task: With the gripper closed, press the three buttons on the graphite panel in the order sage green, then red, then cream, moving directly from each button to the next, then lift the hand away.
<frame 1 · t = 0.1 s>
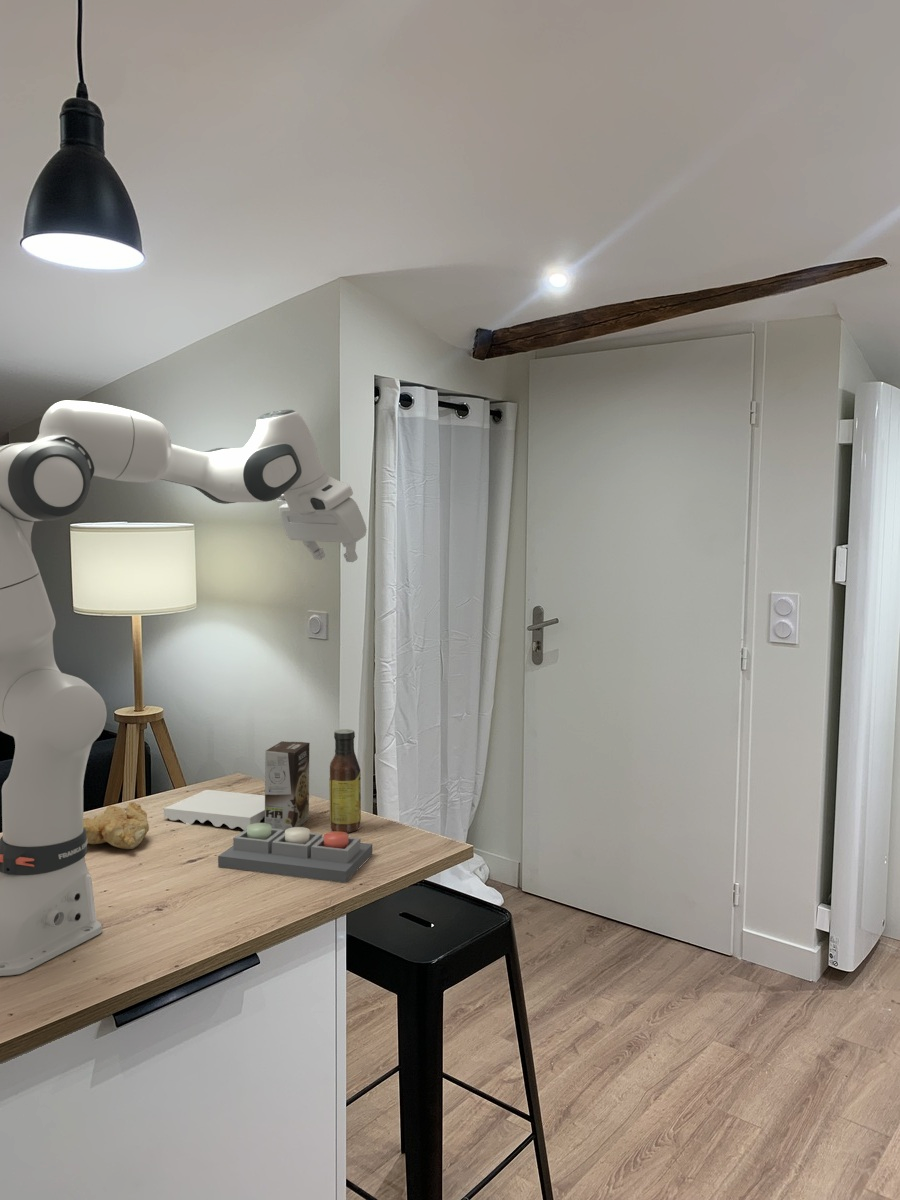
hand: (336, 559, 174), 54 cm above the worktop, tool tilted 30°, fingers open, 8 cm apart
white scalloped slab: (226, 819, 191), on the worktop
cream button: (297, 836, 166), point 4 cm above the worktop, slide at 0.0 cm
red button: (336, 841, 165), point 4 cm above the worktop, slide at 0.0 cm
green button: (259, 832, 168), point 4 cm above the worktop, slide at 0.0 cm
button panel: (297, 860, 167), on the worktop
coffee box: (287, 825, 187), on the worktop
ginger root: (115, 845, 174), on the worktop
sauce bottle: (344, 829, 185), on the worktop
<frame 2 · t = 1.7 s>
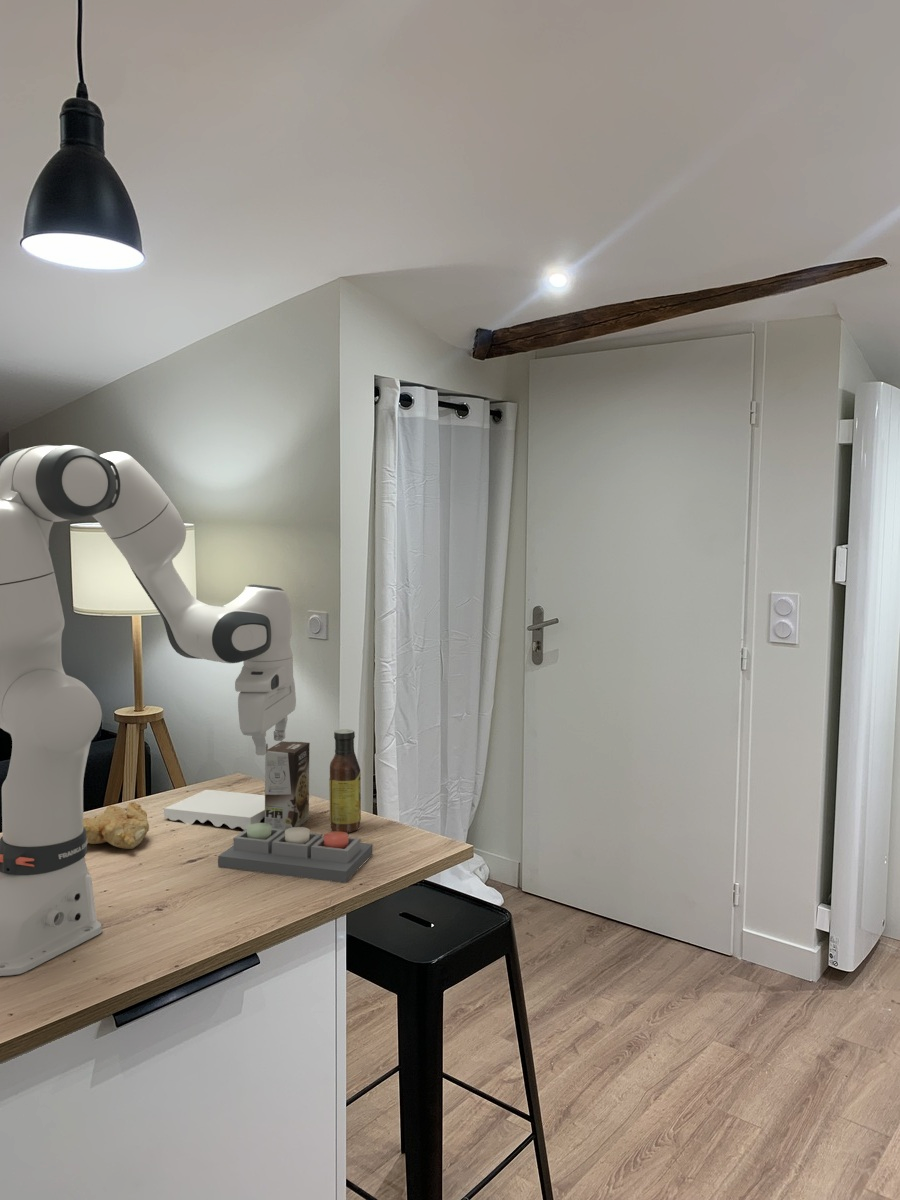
hand: (271, 747, 169), 20 cm above the worktop, tool pointing down, fingers open, 8 cm apart
nothing on the worktop moved.
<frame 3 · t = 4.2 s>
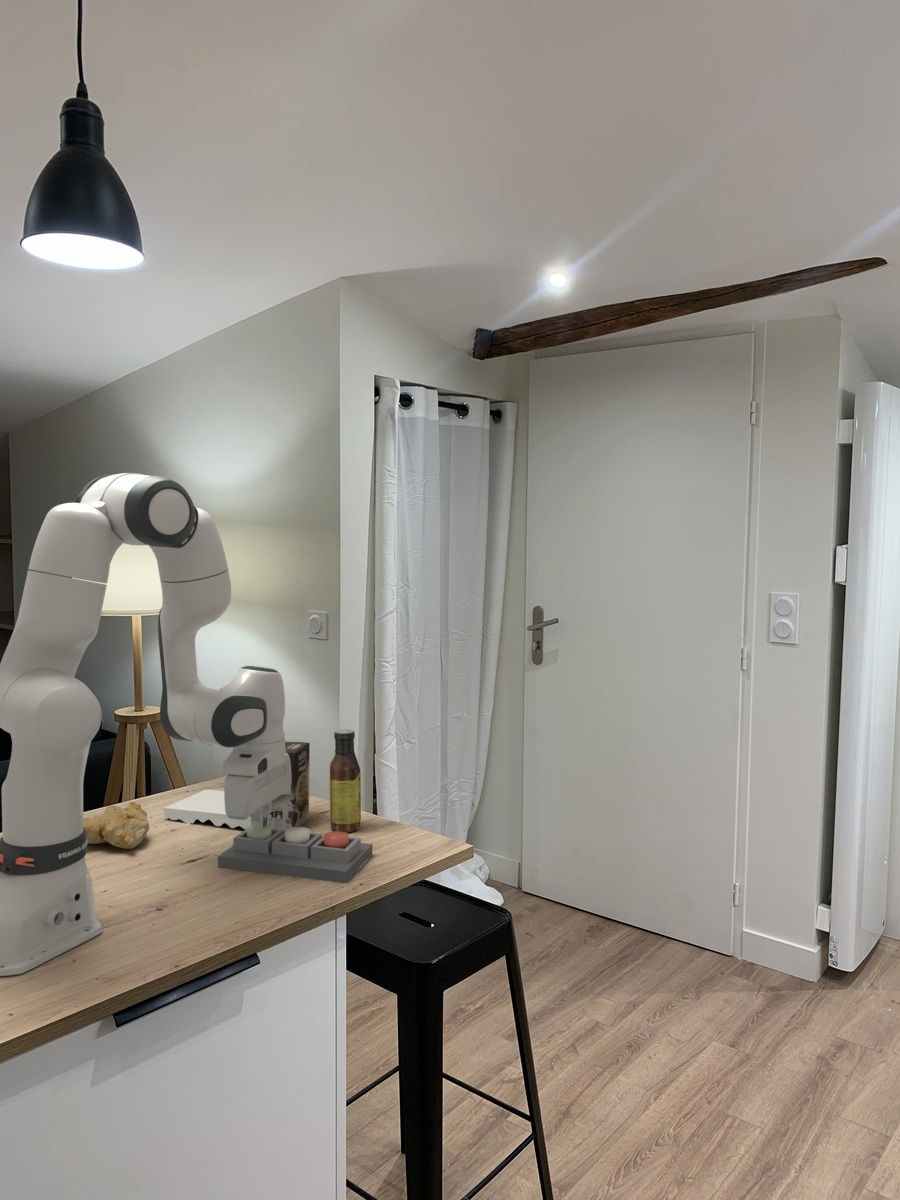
hand: (260, 828, 168), 5 cm above the worktop, tool pointing down, fingers closed, pressing on green button
green button: (259, 834, 168), point 4 cm above the worktop, slide at 0.3 cm, touching gripper
everything else where it was.
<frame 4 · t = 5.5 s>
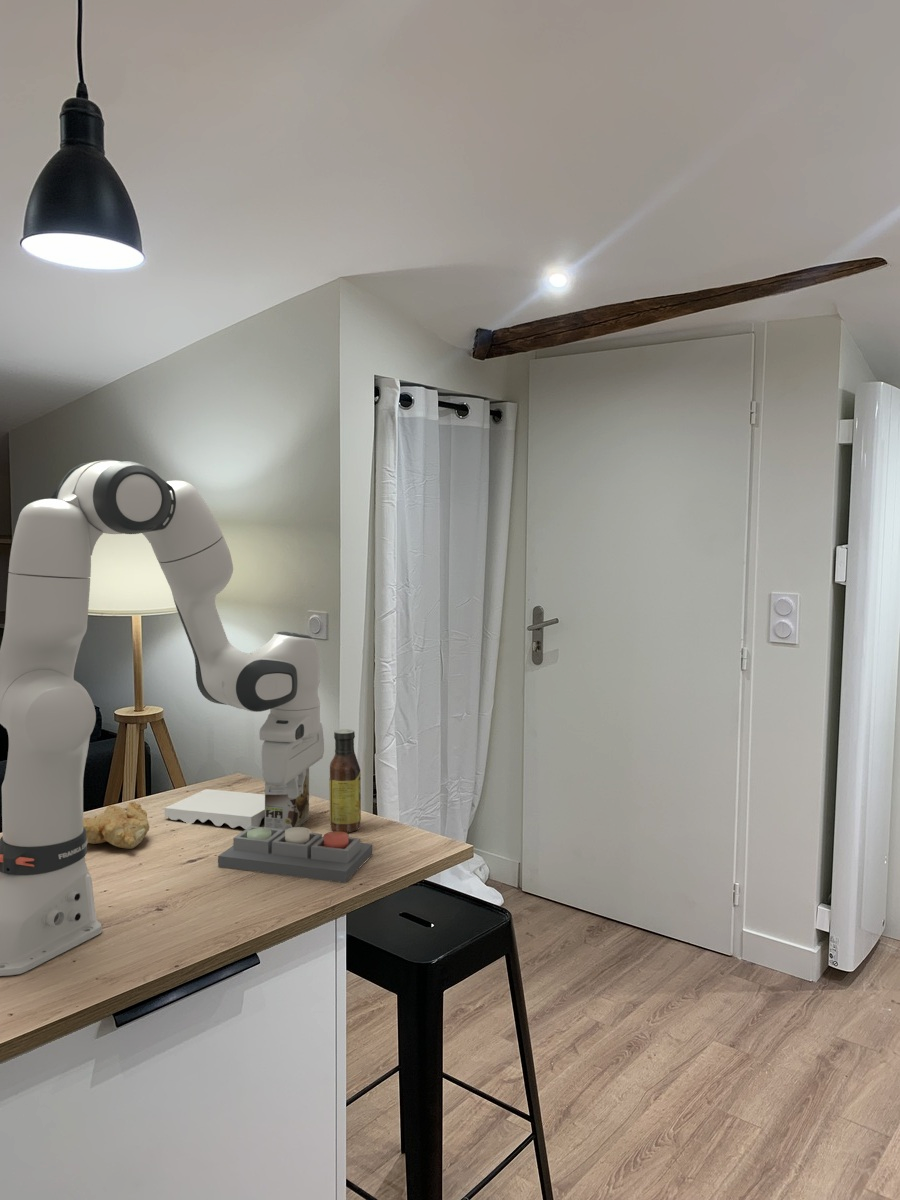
hand: (295, 796, 167), 12 cm above the worktop, tool pointing down, fingers closed
green button: (259, 838, 168), point 3 cm above the worktop, slide at 1.0 cm
everything else where it was.
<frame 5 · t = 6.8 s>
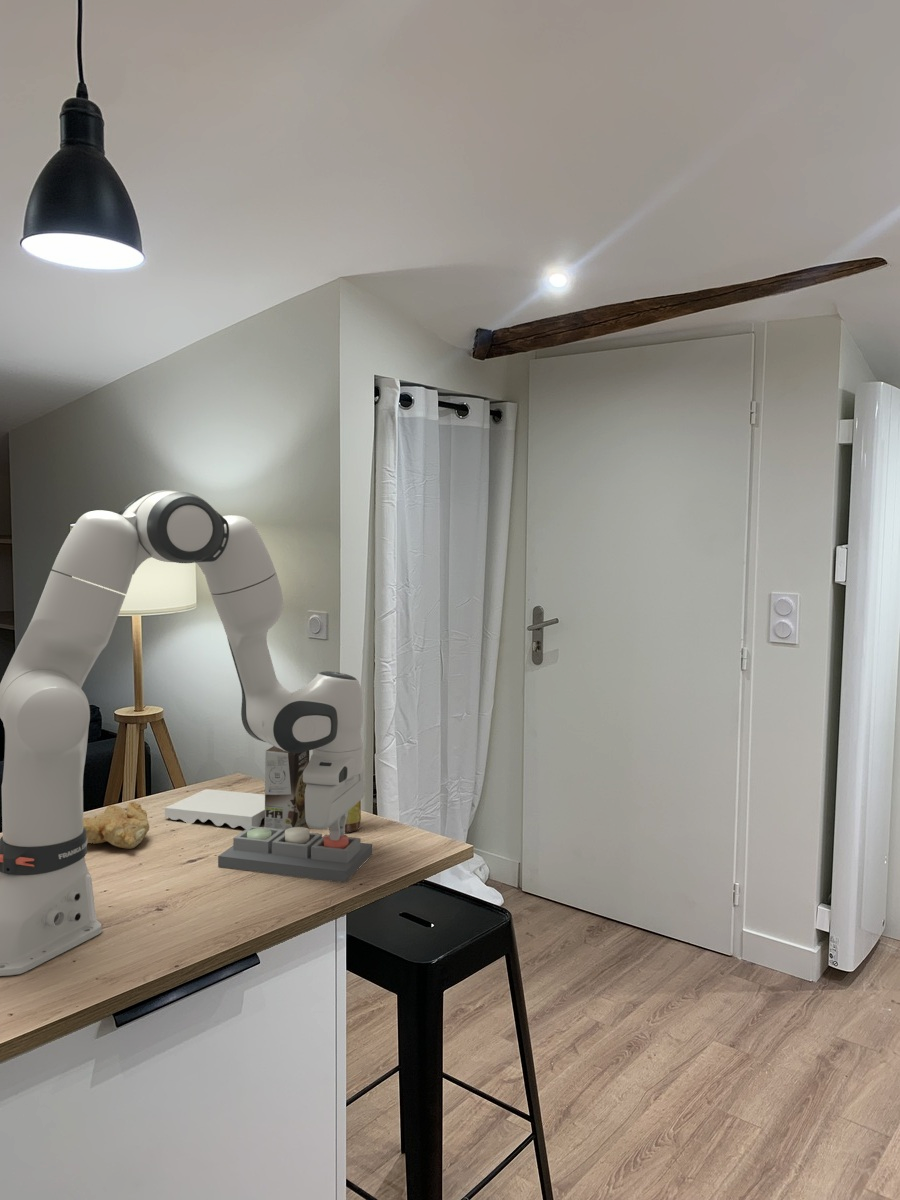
hand: (337, 837, 165), 5 cm above the worktop, tool pointing down, fingers closed, pressing on red button
red button: (336, 844, 165), point 4 cm above the worktop, slide at 0.5 cm, touching gripper
everything else where it was.
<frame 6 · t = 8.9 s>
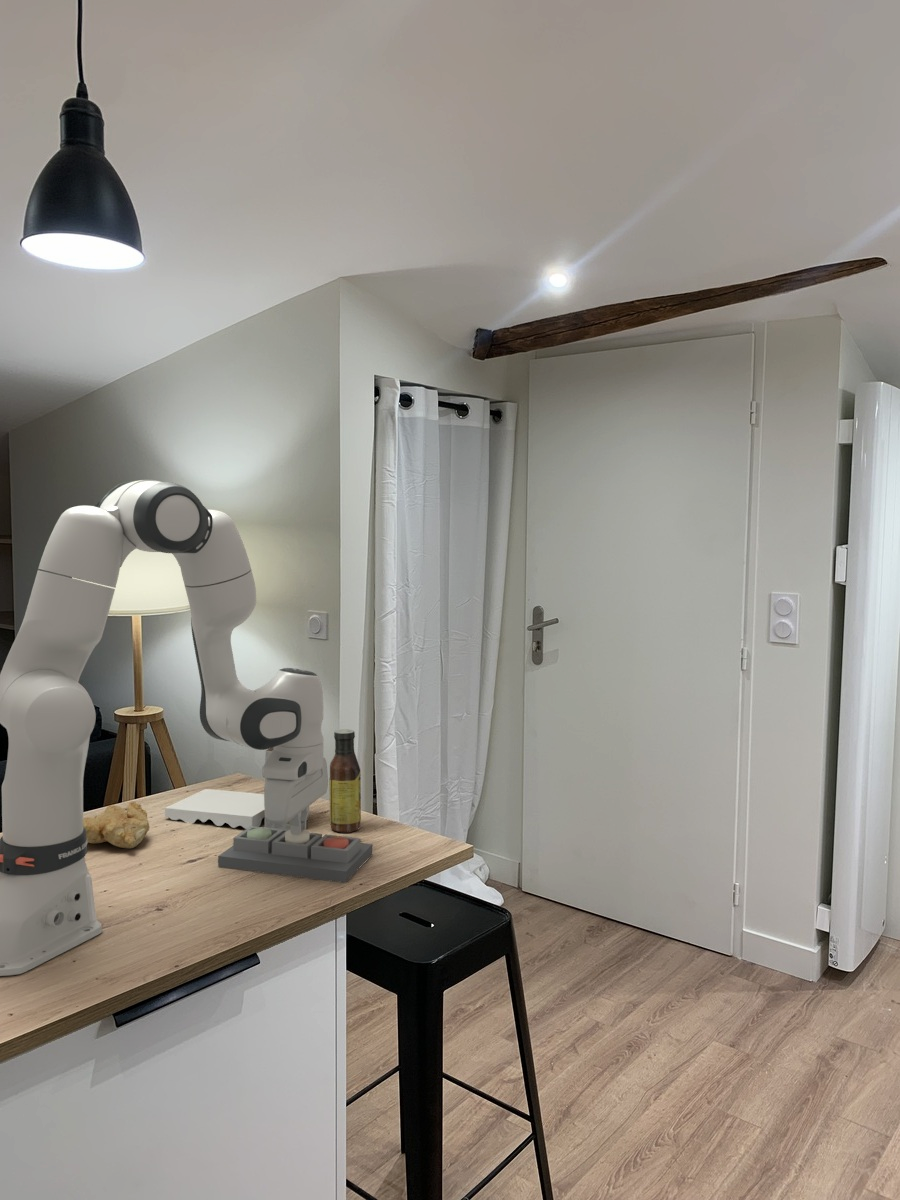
hand: (298, 832, 167), 5 cm above the worktop, tool pointing down, fingers closed, pressing on cream button
cream button: (297, 838, 167), point 4 cm above the worktop, slide at 0.3 cm, touching gripper
red button: (336, 846, 165), point 3 cm above the worktop, slide at 1.0 cm
everything else where it was.
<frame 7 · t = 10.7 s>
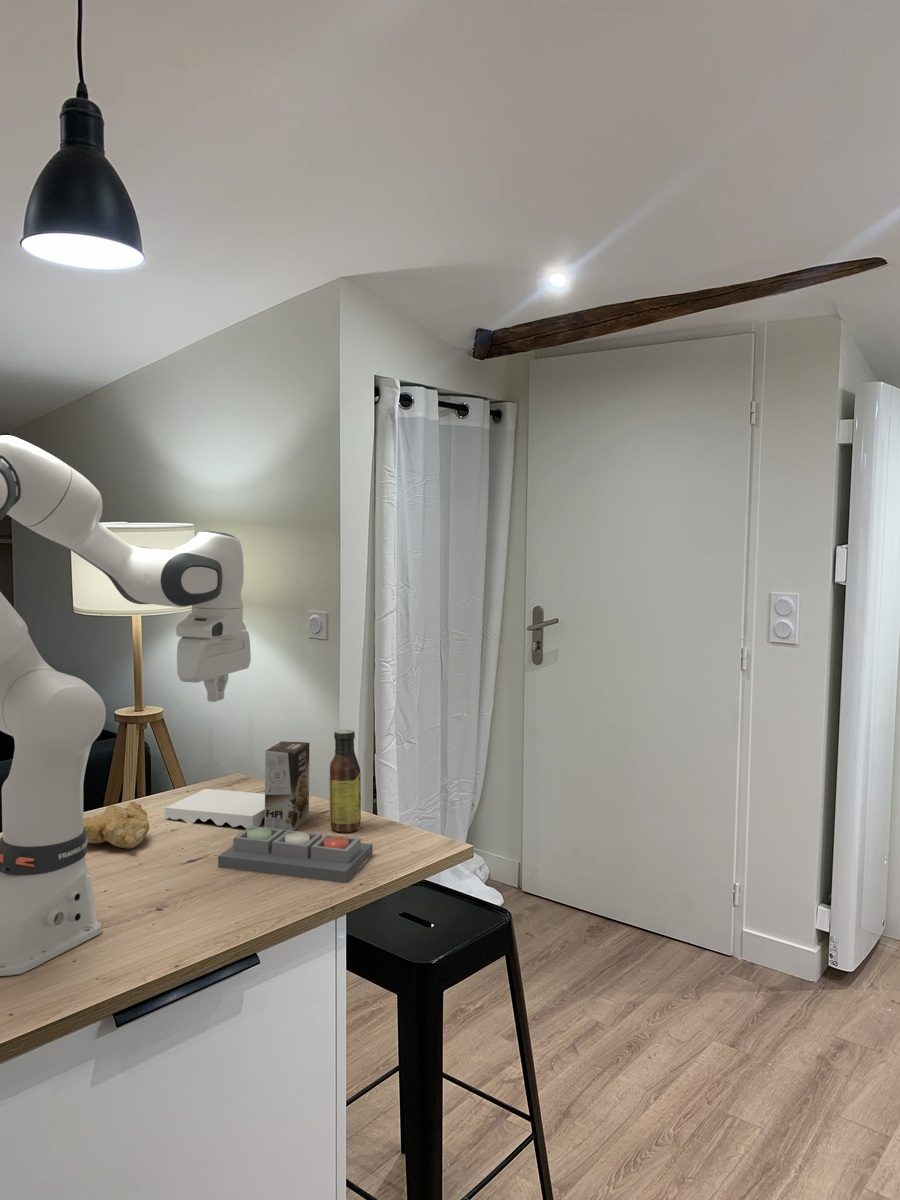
hand: (215, 700, 164), 29 cm above the worktop, tool pointing down, fingers closed
cream button: (297, 842, 167), point 3 cm above the worktop, slide at 1.0 cm
everything else where it was.
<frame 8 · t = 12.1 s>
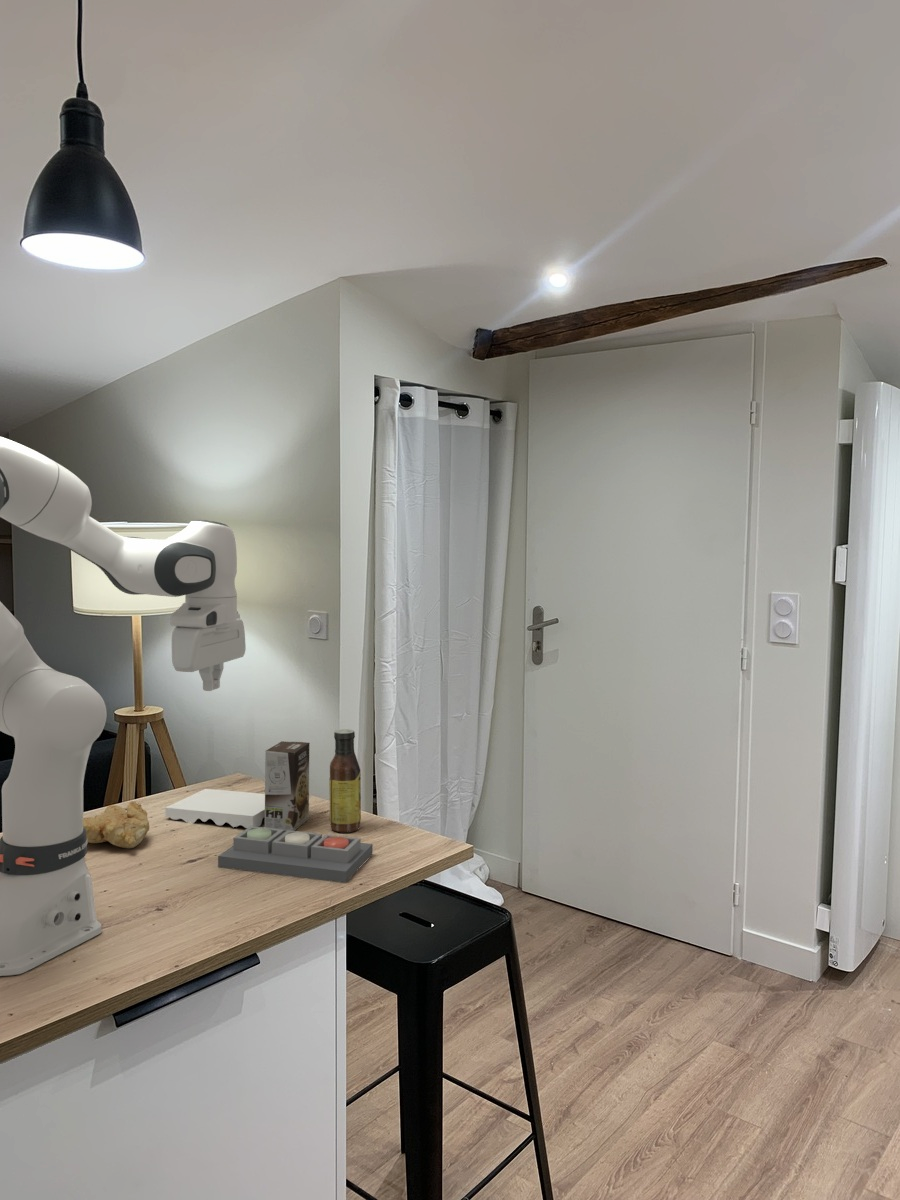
hand: (211, 689, 164), 31 cm above the worktop, tool pointing down, fingers closed
nothing on the worktop moved.
at the end: green button slide at 1.0 cm; red button slide at 1.0 cm; cream button slide at 1.0 cm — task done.
